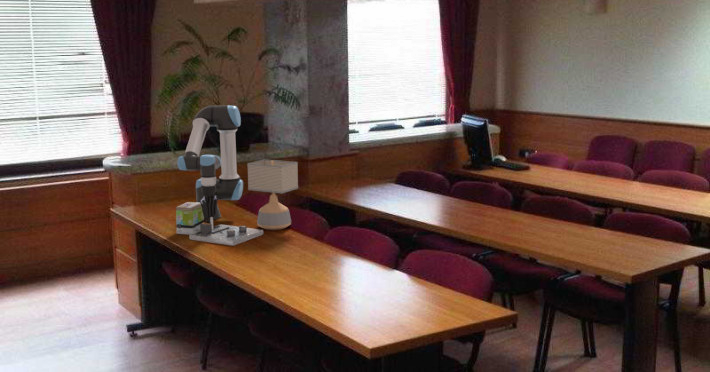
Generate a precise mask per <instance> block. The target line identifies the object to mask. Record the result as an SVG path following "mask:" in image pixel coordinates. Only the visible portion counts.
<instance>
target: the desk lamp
mask: <svg viewBox="0 0 710 372" xmlns="http://www.w3.org/2000/svg"><path fill="white" fill-rule="evenodd" d="M298 163H299V162H298V161H287V160H278V159H276V160H275V159H265V158H264V159H260V160H256V161H252V162H247V190H248V191H253V192H263V193H271V194H270V195H269V200H268V202H267V203H266V204H264V205H263V206H262V207H260V208H259V210H258V214H257V218H256V223H257V225H256V226H257V227H259V228H262V230H266V231H280V230H283V229H286V228H287V227H289V226H290V225H292V219H291V214H290V209H289V208H288V207H287V206H285V205H283V204H282V203H280V202H279V199H278V198H279V197H278V195H277V194H285V193H288V192H291V191H294V190H298V189H299V179H298V178H299V175H298V173H299V171H298V170H299V169H298V167H299V166H298Z"/></svg>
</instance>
